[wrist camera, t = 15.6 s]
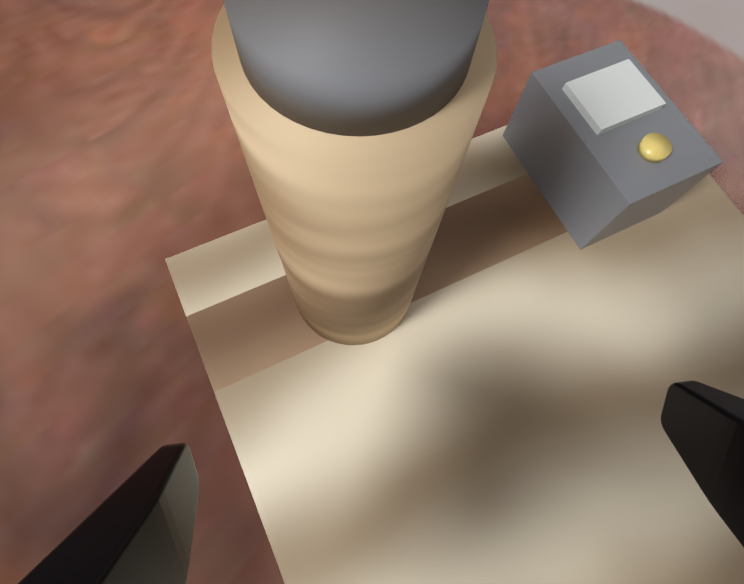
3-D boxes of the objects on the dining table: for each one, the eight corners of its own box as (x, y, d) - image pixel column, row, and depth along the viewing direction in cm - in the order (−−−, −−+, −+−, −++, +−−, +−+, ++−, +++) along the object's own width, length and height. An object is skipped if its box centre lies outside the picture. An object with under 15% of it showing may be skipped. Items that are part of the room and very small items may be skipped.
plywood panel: (918, 457, 17) (944, 457, 16) (379, 821, 13) (381, 844, 12) (619, 90, 22) (629, 77, 22) (172, 267, 18) (164, 259, 18)
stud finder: (659, 213, 19) (729, 156, 16) (580, 249, 19) (634, 199, 15) (577, 105, 21) (624, 32, 17) (502, 135, 20) (534, 65, 17)
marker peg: (431, 316, 17) (582, 45, 6) (322, 364, 17) (259, 158, 5) (381, 219, 19) (426, -153, 7) (277, 260, 18) (148, -86, 7)
